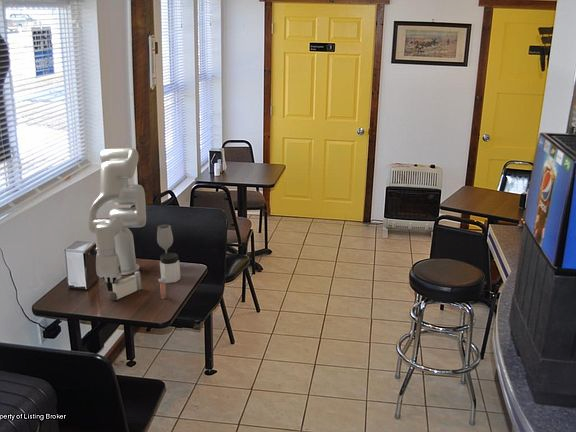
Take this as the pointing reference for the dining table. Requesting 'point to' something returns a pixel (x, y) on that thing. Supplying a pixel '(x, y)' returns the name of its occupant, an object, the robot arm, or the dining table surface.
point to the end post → (162, 288)
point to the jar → (170, 267)
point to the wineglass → (164, 236)
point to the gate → (126, 286)
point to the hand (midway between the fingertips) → (111, 289)
